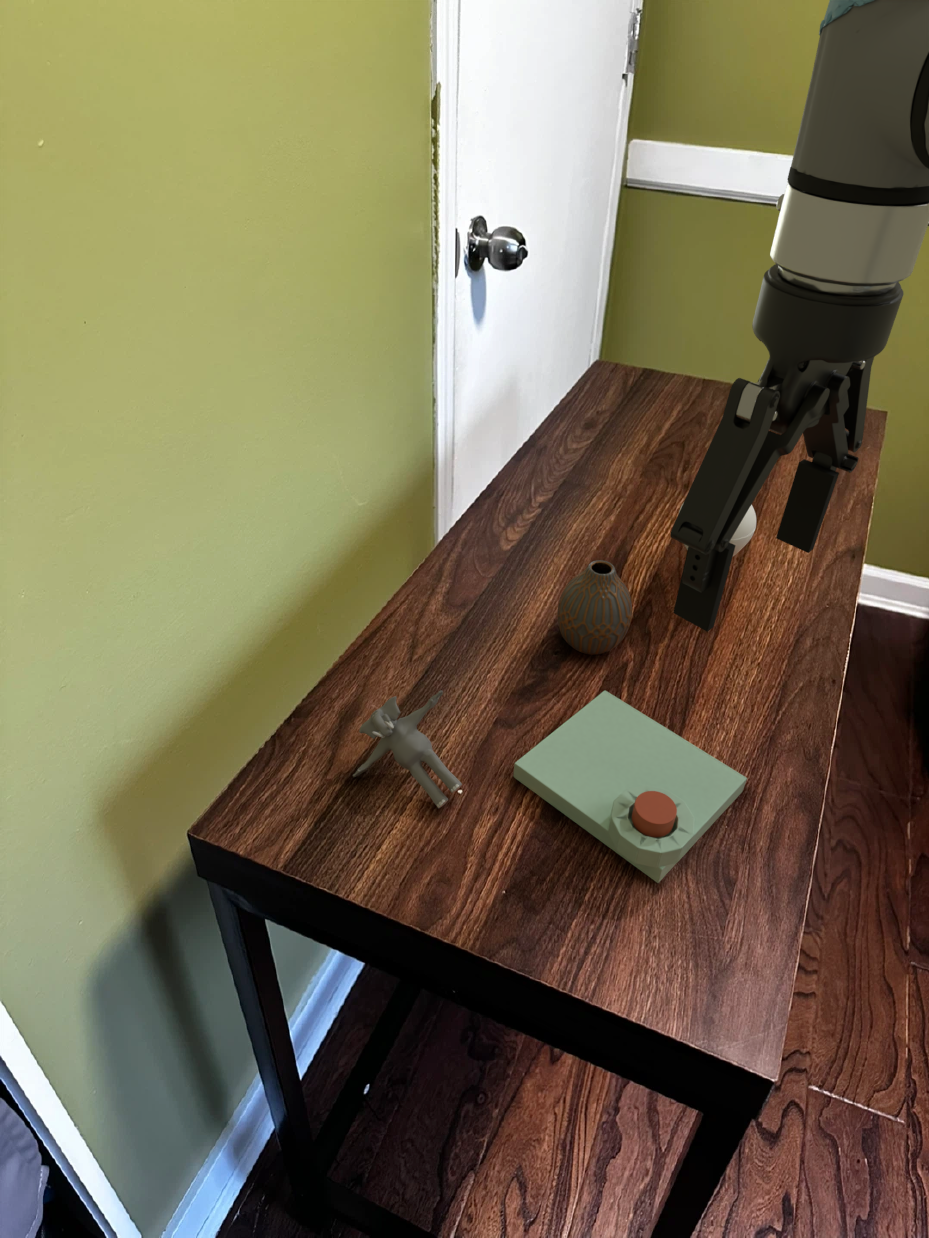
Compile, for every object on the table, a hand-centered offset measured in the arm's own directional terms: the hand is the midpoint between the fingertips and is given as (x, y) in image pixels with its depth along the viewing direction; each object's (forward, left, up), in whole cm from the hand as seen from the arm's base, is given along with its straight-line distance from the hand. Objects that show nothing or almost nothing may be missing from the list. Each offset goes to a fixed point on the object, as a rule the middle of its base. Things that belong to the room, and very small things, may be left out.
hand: (746, 580), depth 61 cm
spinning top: (+13, -22, -18) cm, 31 cm away
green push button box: (+2, +7, -18) cm, 19 cm away
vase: (+15, -5, -18) cm, 24 cm away
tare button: (-3, +11, -14) cm, 19 cm away
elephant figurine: (+15, +18, -18) cm, 30 cm away
